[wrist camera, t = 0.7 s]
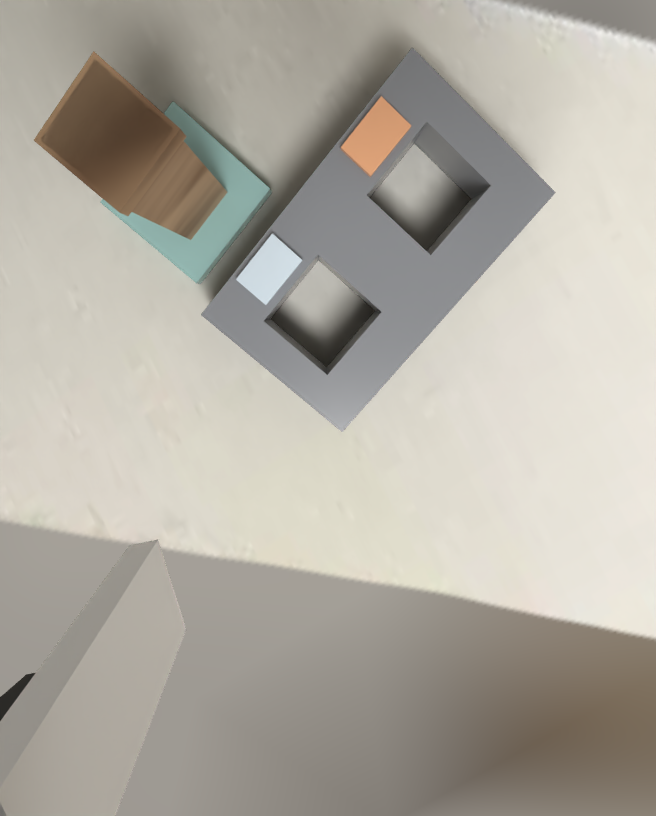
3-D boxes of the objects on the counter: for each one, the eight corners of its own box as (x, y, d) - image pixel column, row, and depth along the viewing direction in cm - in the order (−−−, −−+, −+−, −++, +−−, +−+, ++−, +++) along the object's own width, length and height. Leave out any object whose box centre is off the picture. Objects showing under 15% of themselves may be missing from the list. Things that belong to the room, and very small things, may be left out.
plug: (138, 199, 32) (33, 140, 21) (178, 144, 32) (93, 51, 20) (191, 244, 33) (119, 212, 21) (231, 191, 32) (180, 128, 21)
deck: (108, 205, 33) (100, 202, 32) (178, 108, 32) (172, 100, 31) (200, 283, 35) (196, 283, 33) (271, 192, 33) (270, 188, 32)
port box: (214, 313, 35) (199, 314, 31) (401, 78, 32) (413, 43, 28) (340, 418, 37) (342, 433, 33) (528, 205, 34) (558, 190, 29)
